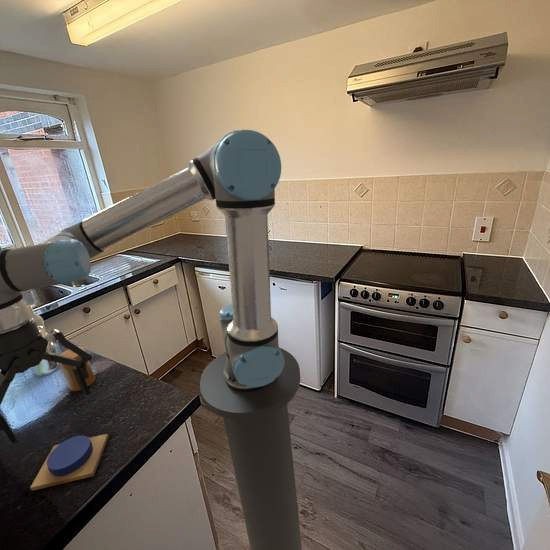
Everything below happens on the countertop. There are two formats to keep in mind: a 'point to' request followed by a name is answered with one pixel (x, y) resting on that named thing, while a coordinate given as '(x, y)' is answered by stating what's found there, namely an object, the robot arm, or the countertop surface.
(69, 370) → the jar
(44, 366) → the beer glass
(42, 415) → the countertop surface
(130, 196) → the robot arm
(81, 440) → the lid
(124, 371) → the countertop surface
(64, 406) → the countertop surface
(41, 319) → the plastic bottle
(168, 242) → the countertop surface
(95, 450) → the mat
